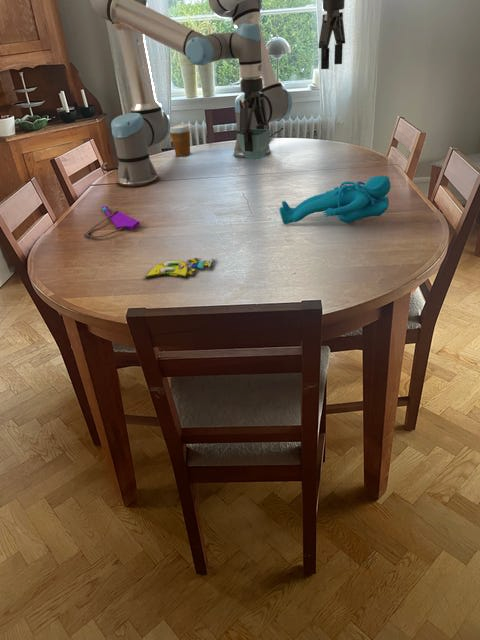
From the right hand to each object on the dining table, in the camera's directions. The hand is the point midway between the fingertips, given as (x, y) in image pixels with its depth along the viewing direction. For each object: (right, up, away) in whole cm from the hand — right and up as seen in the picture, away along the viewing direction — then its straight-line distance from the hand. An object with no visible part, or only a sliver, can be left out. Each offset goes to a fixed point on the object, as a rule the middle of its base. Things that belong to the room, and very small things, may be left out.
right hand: (331, 66), depth 175 cm
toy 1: (-48, -80, -57) cm, 110 cm away
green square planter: (-28, -34, -1) cm, 44 cm away
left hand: (-28, -31, -3) cm, 42 cm away
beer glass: (-59, -19, +39) cm, 73 cm away
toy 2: (-7, -65, -39) cm, 76 cm away
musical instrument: (-74, -63, -28) cm, 102 cm away
